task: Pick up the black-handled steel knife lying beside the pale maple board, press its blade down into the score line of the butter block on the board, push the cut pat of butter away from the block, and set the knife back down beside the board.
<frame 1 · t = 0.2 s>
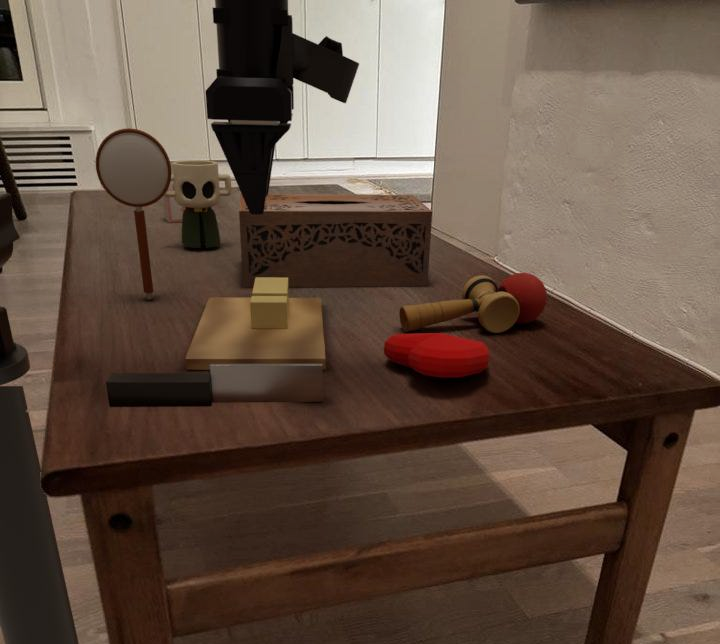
hand: (259, 204, 66), 16 cm above the table, tool pointing down, fingers open, 9 cm apart
tissue box cover: (331, 275, 109), on the table
knife: (151, 402, 67), on the table
kendama: (472, 328, 88), on the table
character mug: (201, 248, 122), on the table
butter block: (271, 309, 88), point 1 cm above the table, touching board
magnifying glass: (149, 301, 95), on the table
heart: (443, 375, 75), on the table
butter slice: (269, 325, 83), point 1 cm above the table, touching board
board: (261, 334, 84), on the table
tea bag: (185, 220, 143), on the table
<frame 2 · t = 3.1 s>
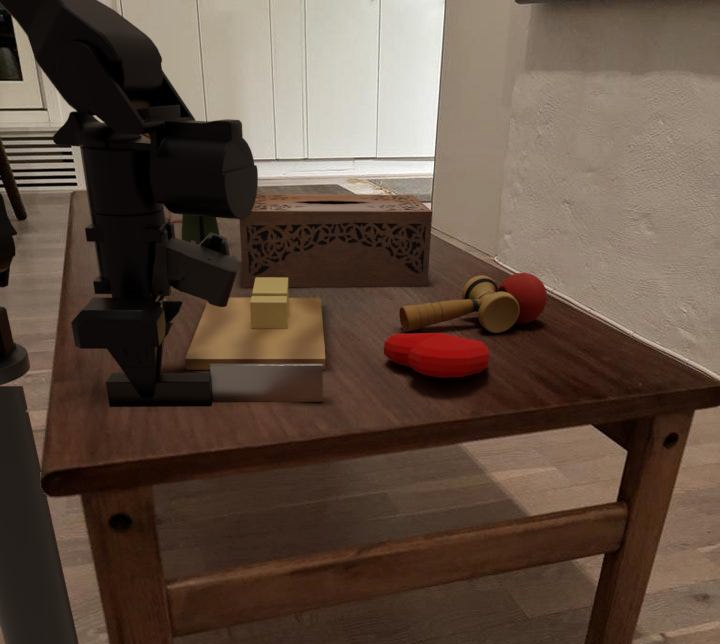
hand: (150, 391, 66), 1 cm above the table, tool pointing down, fingers closed on knife, 2 cm apart
knife: (151, 402, 67), on the table, touching gripper
everything else where it was.
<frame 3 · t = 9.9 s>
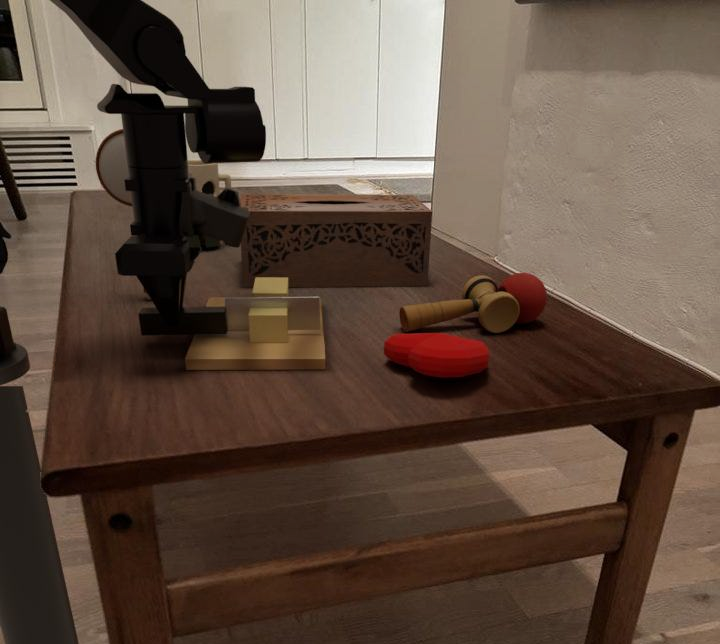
hand: (174, 322, 79), 3 cm above the table, tool pointing down, fingers closed on knife, 2 cm apart
knife: (176, 331, 79), point 1 cm above the table, touching butter slice, gripper
butter slice: (269, 338, 79), point 1 cm above the table, touching board, knife
everything else where it was.
when the fingers open (1 cm above the table, at t = 13.8 s): knife stays where it is, on the table.
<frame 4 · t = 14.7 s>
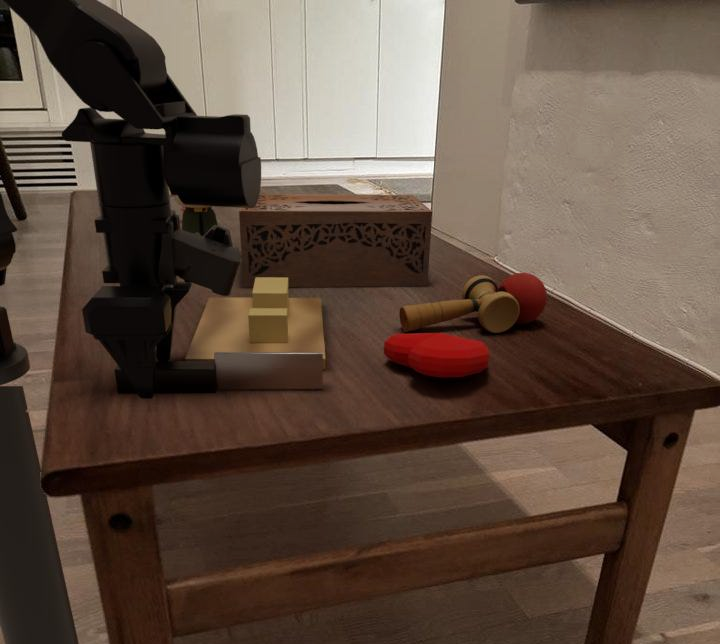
hand: (156, 378, 69), 1 cm above the table, tool pointing down, fingers open, 9 cm apart
knife: (158, 389, 69), on the table
butter slice: (269, 339, 79), point 1 cm above the table, touching board
everything else where it was.
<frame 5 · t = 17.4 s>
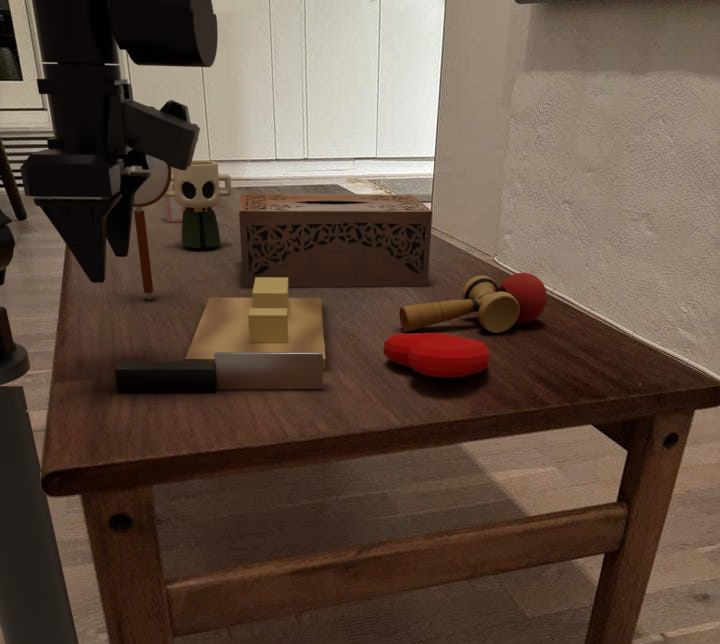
hand: (110, 268, 65), 11 cm above the table, tool pointing down, fingers open, 9 cm apart
nothing on the table moved.
at the end: butter slice moved 4.8 cm from its start; butter block moved 0.0 cm from its start; the gripper is holding nothing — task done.
